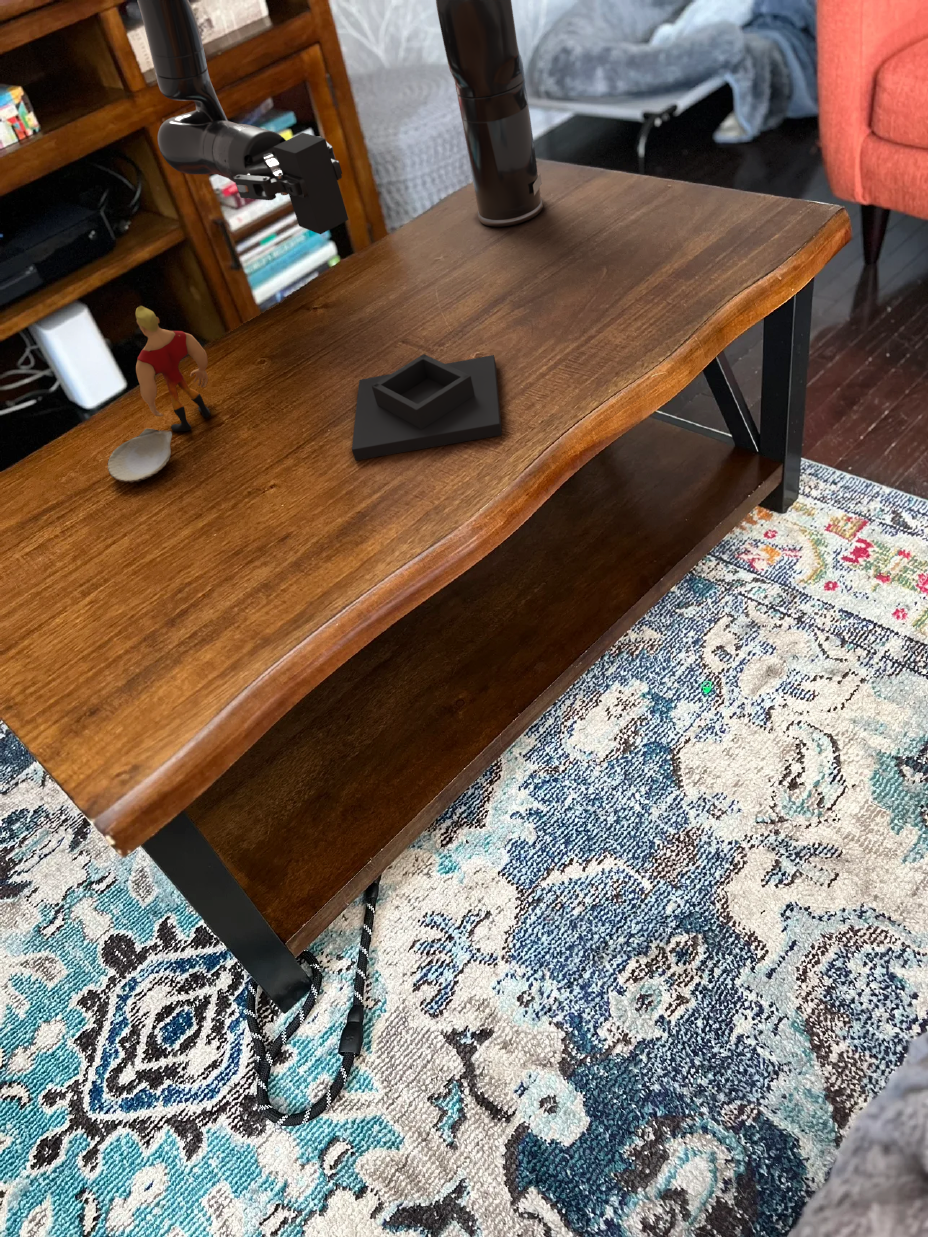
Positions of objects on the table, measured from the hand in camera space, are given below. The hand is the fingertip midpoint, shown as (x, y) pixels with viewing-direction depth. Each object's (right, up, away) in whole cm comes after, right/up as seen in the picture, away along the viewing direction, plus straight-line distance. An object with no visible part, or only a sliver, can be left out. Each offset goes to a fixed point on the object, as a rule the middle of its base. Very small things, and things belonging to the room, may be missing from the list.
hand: (321, 179), depth 117 cm
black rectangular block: (0, -3, +6) cm, 7 cm away
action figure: (-15, -30, -2) cm, 34 cm away
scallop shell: (-19, -36, -7) cm, 41 cm away
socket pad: (+14, -31, -10) cm, 35 cm away
